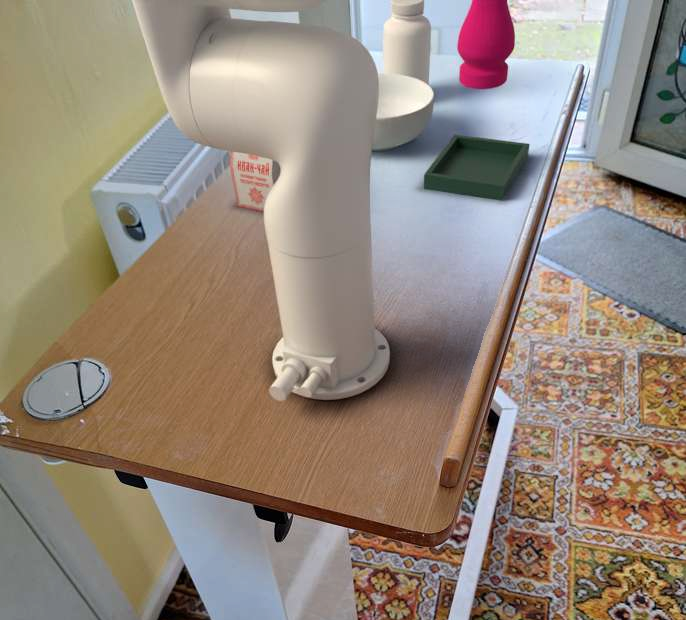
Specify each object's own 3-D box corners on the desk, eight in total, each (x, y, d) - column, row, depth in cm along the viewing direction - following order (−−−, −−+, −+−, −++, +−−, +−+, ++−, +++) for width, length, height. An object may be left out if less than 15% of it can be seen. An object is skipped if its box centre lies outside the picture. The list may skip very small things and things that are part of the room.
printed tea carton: (251, 194, 99) (239, 124, 91) (290, 202, 96) (281, 130, 89) (237, 205, 97) (224, 135, 89) (277, 214, 94) (267, 142, 87)
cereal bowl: (313, 160, 105) (309, 113, 99) (343, 116, 115) (341, 71, 110) (420, 168, 101) (421, 119, 95) (441, 122, 111) (443, 75, 106)
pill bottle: (430, 106, 116) (433, 4, 104) (383, 109, 116) (382, 8, 105) (427, 88, 121) (430, -10, 110) (382, 91, 121) (381, -7, 110)
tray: (502, 200, 93) (504, 186, 91) (423, 188, 96) (424, 174, 95) (527, 157, 101) (529, 143, 99) (453, 148, 104) (454, 134, 103)
